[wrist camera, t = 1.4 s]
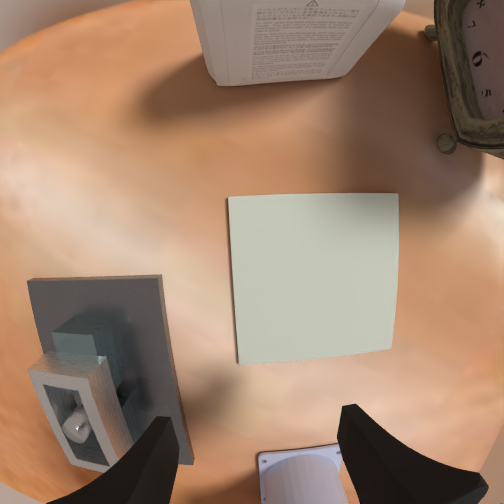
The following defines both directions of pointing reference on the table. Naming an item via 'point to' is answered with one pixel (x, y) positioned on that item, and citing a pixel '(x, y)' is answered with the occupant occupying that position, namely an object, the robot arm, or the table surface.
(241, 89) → the table surface
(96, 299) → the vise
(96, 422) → the gray rectangular frame
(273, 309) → the sage mat
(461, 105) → the tabletop clock
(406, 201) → the table surface
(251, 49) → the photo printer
